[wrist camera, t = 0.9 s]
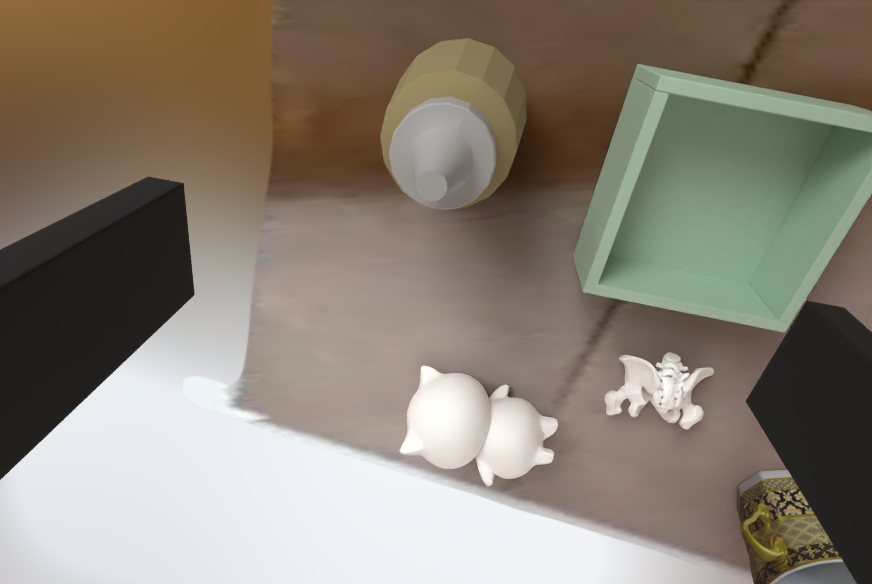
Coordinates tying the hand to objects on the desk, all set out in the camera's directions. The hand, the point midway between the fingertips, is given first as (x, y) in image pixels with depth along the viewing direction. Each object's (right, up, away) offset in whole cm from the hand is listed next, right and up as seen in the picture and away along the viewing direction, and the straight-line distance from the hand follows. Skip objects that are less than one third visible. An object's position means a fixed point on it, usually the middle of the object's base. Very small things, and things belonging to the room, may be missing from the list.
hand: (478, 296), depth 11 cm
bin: (+17, +7, +24) cm, 31 cm away
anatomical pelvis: (+18, -7, +32) cm, 38 cm away
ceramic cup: (+30, -18, +37) cm, 51 cm away
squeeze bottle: (+1, +13, +23) cm, 27 cm away
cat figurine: (+3, -10, +36) cm, 38 cm away
